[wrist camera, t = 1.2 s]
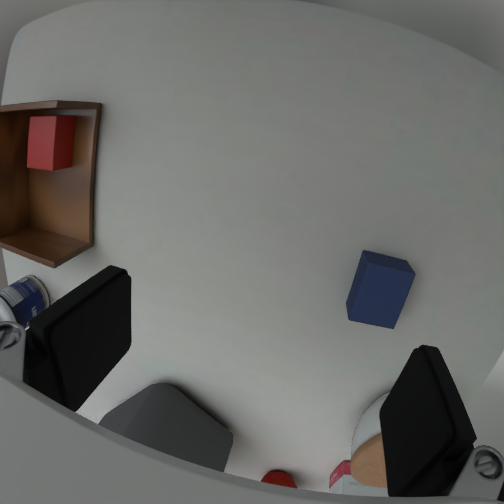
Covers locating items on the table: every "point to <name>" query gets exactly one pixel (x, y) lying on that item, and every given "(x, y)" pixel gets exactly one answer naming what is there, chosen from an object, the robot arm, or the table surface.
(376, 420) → the trinket box
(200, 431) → the alarm clock
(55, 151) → the block
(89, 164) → the drawer
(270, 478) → the apple
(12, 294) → the pill bottle
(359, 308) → the block
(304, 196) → the table surface
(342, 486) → the ink box
